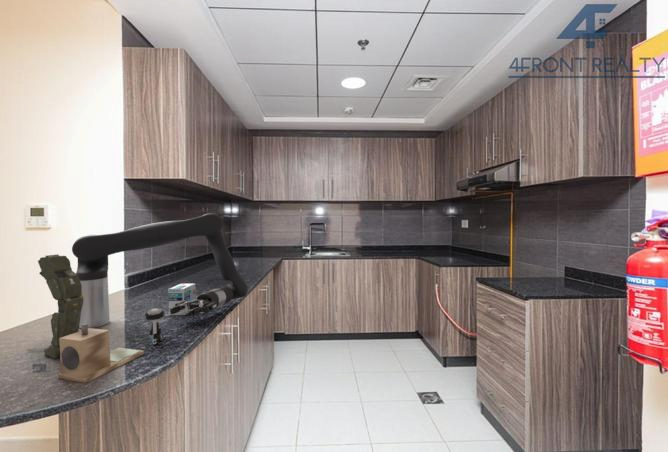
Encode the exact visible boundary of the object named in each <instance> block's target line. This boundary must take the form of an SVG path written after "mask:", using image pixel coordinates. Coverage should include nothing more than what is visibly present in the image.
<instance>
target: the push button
mask: <svg viewBox="0 0 668 452" xmlns="http://www.w3.org/2000/svg"><path fill="white" fill-rule="evenodd" d="M164 314H165V311H164V310H162V308H161V307H156V308H150V309H148V310H147V312H145V313H144V317H145V319H146V320H147V321H150V322H151V329H150V330H149V334H150V337H149V342H150V343H151V345H156V344H159V342H160V340H162V328H161V327H160V324H159V323H160V322H159V320H161V319H163V318H164V316H165V315H164Z"/></svg>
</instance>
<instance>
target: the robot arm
mask: <svg viewBox="0 0 668 452" xmlns="http://www.w3.org/2000/svg"><path fill="white" fill-rule="evenodd" d="M223 226H224V221H223V218H222V217H221V216H220V215H218V214H216V213H213V212H211V213H210V212H208V213H205V214H203V215H200V216H196V217H193V218H188V219H185V220H184V219H183V220H168V221H160V222H154V223H148V224H144V225H140V226H135V227H132V228H129V229H126V230H122V231H119V232H113V233H104V234H87V235H83V236H81V237H79V238H78V239H76V240H75V242H74V243H73V244H72V246H71V247H72V248H71V251H72V254H73V256H75V257H76V259H77V268H76V272H75V273H76V274H77V275H78V277H79V280H80V282H81V285H82V296H83V298H84V299H83V306H82V310H81V317H80V324H79V329H82V327H81V325H83V324H88V328H92V329H95V328H99V327H102V326H105V325H107V324H109V323H110V319H111V317H110V298H109V274H108V272H109V256H110V255H114V254H117V253H122V252H128V251H129V252H130V251H138V250H145V249H151V248H155V247H161V246H164V245H165V246H166V245H169V244H173V243H177V242H179V241H183V240H186V239H189V238H194V237H203V236H204V237H205V239H206V241H207V242H208V244H209V247H210V249H211V252H212V254H213V257H214V260H215V264H216V265H217V269H218V271H219V273H220V274H219V275H220V277H221V278H222V280H224V281H229V282H231V283H228V284H225V285H223V286H221V287H218V288H215V289H211V290H207V291H205V292H202V293H200V294H199V295H198V296H196V300H192V301H188V300H185V301H182V302H179V303H176V304H175V307H173V308H171V309H170V314H175V313H178V312H180V311H186V312H188V311H190V312H189V313H190V316H191V317H194V316H196V315H198V314H203V313H205V314H208V313H211V312H213V311H214V310H216V309H218V308H220V307H221V306H224V305H226V304H228V303H230V302H231V301H232V300H234V299H241V298H245V297H246V296H247V294H248V292H249V287H248V283H246V281H245V280H244V278H243V277H242V275H241V274H240V273H239V271H238V268H237V267H236V264H235V261H234V259H233V256H232V255H231V252H230V251H229V248H228V247H227V245H226V243H225V240H224V237H223V233H222V230H223ZM187 307H189V309H187Z"/></svg>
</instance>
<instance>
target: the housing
mask: <svg viewBox="0 0 668 452" xmlns="http://www.w3.org/2000/svg"><path fill="white" fill-rule="evenodd" d="M81 327H82V328H81V330H80V331H79V330H78V332H76V333H73V334H70V335H67V336H64V337H61V338H59V342H60V359H59V360H60V373H59V374H58V375H57V376H58V379H61V380H66V381H72V382H78V383H84V384H86V383H88V382H90V381H92V380H95V379H96V378H99V377H100V376H102V375H104V374H106V373H108V372H110V371H113V370H116V368H119V367H121V366H122V365H125V364H127V363H128V362H131V361H133V360H135V359H136V358H137V359H138V358H139V357H141V356H143V355H144V353H145V352H144V350H141V349H135V348H134V349H132V348H124V347H118V348H115V349H113V350H111V346H110V345H111V344H110V330H109V329H102V328H101V329H100V328H88V324H83V325H81Z"/></svg>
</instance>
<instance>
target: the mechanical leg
mask: <svg viewBox="0 0 668 452" xmlns="http://www.w3.org/2000/svg"><path fill="white" fill-rule="evenodd" d="M37 263H38V266H39V268H40V272H39V275H40V276H41V277H43V278H44V280H45V283H46V285H47V286H48V288H49V291H50V293H51V296H52V298H53V299H54V300H55V301H57V308H58V310H57V312H54V313H52V315H51V319H50V326H51V327H50V328H51V333H52V340H51V342H50V345H48V347H47V348H45V349H44V351H43V352H44V356H47V357H51V358H53V359H59V360H60V342H59V338H61V337H64V336H67V335H70V334H73V333H76V332H79V329H80V328H79V324H80V317H81V310H82V306H83V299H84V298H83V296H82V285H81V282H80V280H79V277H78V275H77V274H76V272H74V271H73V269H72V266H71V261H70V259H69V258H68V257H67V256H66V255H59V254H51V255H50V254H49V255H44V256H43V257H40V258H39V259H38V261H37Z"/></svg>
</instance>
